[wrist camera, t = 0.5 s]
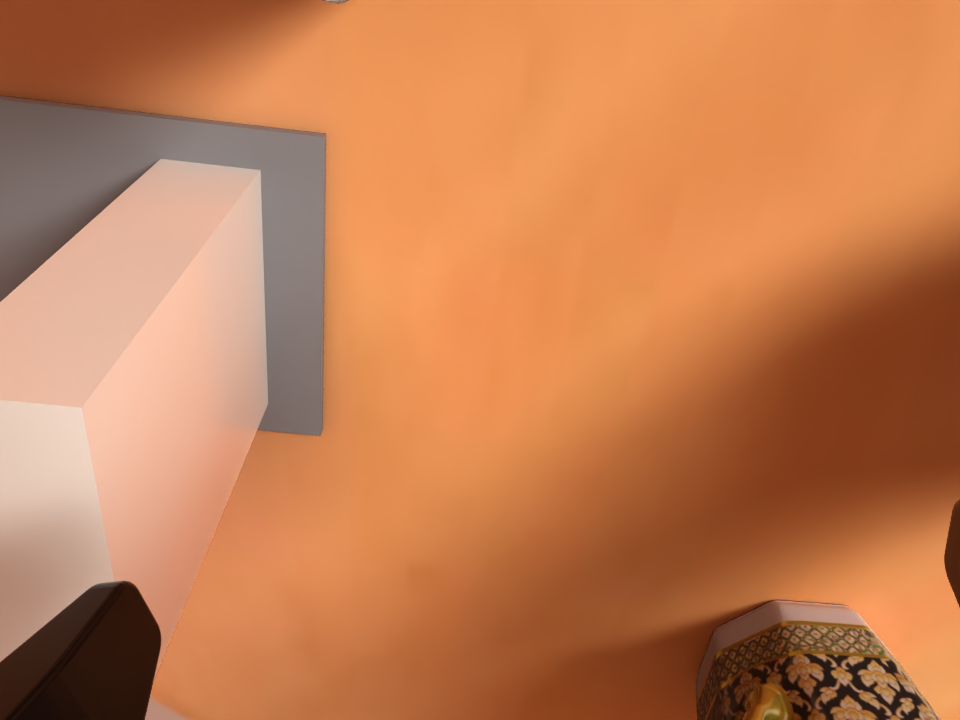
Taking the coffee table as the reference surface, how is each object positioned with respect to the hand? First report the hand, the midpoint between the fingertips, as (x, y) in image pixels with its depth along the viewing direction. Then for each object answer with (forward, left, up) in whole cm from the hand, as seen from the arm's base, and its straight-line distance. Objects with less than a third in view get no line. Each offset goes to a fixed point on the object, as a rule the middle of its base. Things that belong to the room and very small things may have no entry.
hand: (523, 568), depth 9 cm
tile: (+6, +5, -13) cm, 15 cm away
